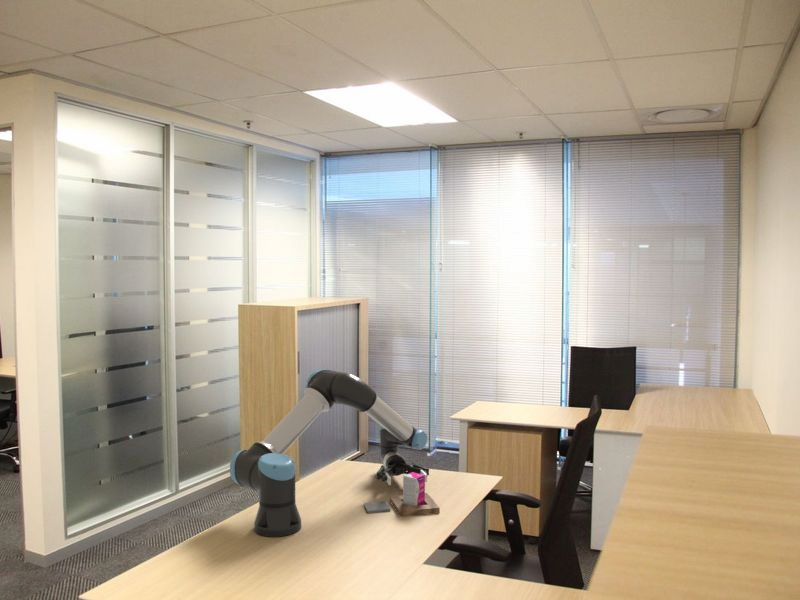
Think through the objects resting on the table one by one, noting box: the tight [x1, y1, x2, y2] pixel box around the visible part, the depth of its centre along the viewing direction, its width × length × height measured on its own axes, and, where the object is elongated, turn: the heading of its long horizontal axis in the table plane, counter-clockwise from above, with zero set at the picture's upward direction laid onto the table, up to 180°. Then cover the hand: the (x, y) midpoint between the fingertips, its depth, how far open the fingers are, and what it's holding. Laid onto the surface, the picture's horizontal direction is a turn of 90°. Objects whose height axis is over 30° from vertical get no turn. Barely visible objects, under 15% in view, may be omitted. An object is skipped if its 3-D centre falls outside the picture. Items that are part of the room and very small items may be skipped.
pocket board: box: [389, 492, 440, 517], centre depth 246 cm, size 14×16×2 cm
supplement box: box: [402, 472, 426, 507], centre depth 246 cm, size 6×6×12 cm
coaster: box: [363, 500, 391, 514], centre depth 245 cm, size 8×8×1 cm
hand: (408, 480), depth 254 cm, fingers open, 13 cm apart
